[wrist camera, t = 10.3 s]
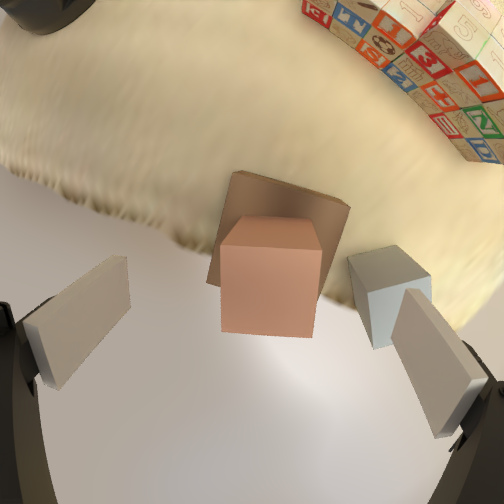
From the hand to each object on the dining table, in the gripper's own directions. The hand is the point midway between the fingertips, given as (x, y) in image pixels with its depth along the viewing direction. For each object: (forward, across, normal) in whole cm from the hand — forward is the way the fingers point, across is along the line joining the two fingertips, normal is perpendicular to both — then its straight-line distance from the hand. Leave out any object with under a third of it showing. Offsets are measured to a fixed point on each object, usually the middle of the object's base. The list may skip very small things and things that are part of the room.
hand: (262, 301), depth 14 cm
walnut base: (+15, 0, -1) cm, 15 cm away
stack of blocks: (+15, +11, +17) cm, 26 cm away
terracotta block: (+10, 0, -1) cm, 10 cm away
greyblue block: (+15, +10, -4) cm, 18 cm away
